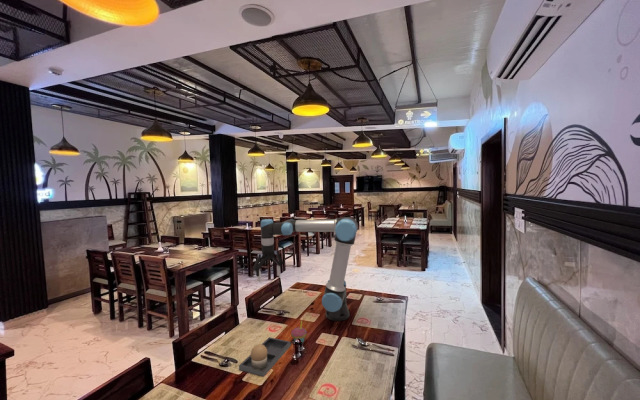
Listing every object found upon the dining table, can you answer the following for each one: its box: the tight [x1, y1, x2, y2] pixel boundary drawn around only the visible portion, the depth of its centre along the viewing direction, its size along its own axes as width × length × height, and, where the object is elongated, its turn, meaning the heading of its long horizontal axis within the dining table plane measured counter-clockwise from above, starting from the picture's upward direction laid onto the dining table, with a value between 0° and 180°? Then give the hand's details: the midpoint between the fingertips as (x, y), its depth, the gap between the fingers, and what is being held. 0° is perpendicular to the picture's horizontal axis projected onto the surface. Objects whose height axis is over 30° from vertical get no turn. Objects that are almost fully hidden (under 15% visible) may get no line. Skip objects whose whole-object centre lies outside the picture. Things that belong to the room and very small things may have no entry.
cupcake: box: [290, 320, 308, 344], centre depth 148 cm, size 9×8×12 cm
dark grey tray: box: [238, 337, 292, 377], centre depth 134 cm, size 13×25×3 cm, turn 158°
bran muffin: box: [250, 343, 268, 369], centre depth 128 cm, size 8×8×9 cm
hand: (269, 278), depth 172 cm, fingers open, 13 cm apart
